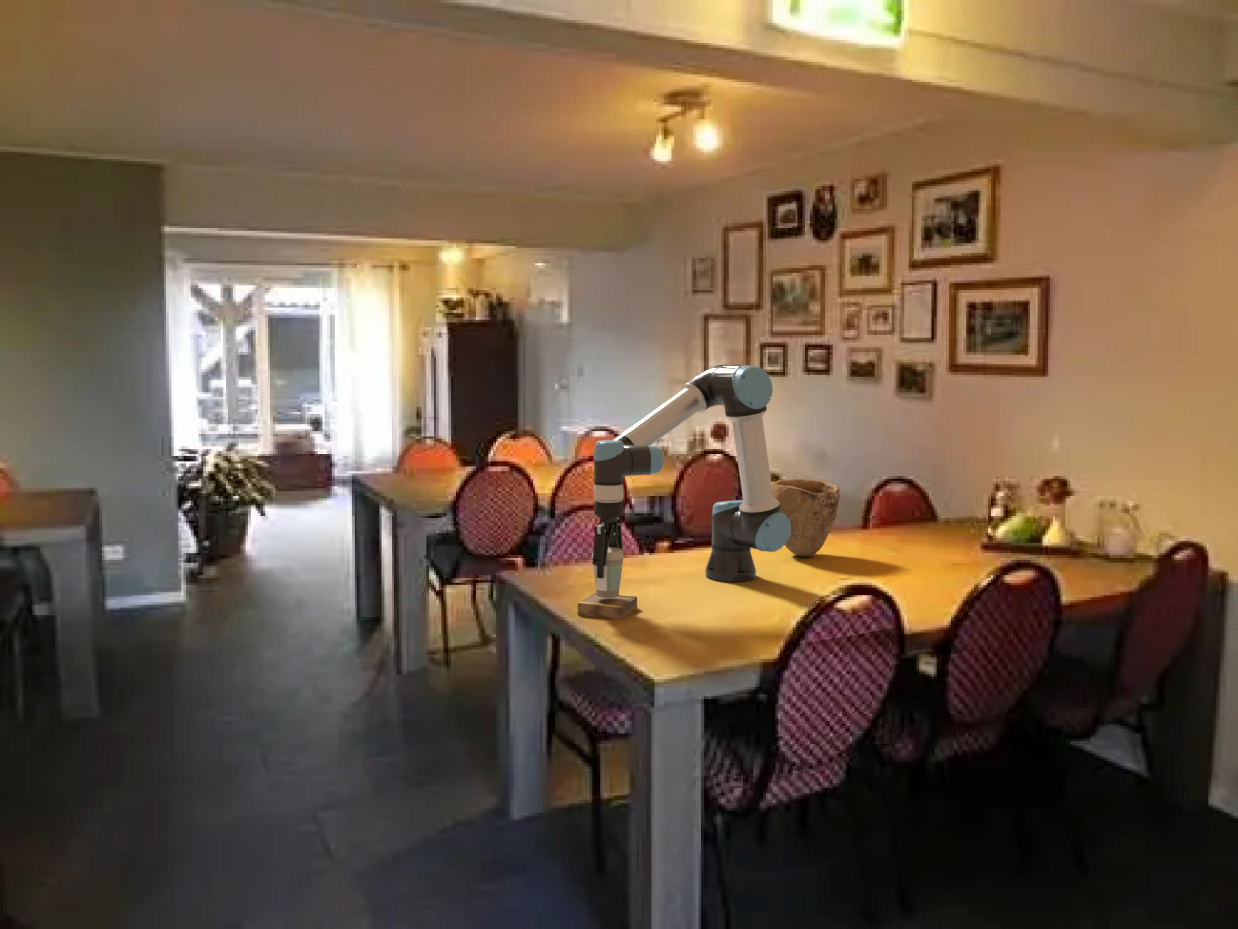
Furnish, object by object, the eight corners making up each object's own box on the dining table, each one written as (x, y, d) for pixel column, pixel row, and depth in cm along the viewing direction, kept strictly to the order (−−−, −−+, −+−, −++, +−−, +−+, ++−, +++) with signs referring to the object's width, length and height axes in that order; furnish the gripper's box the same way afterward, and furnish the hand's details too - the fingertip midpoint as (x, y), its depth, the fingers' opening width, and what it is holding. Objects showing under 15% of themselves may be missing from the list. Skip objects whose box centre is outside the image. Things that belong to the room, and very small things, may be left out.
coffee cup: (590, 591, 266) (590, 546, 264) (622, 590, 267) (622, 546, 265) (592, 599, 257) (592, 553, 256) (625, 598, 258) (625, 552, 257)
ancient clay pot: (805, 567, 317) (808, 488, 314) (754, 555, 334) (755, 480, 331) (851, 558, 331) (853, 482, 328) (799, 547, 348) (801, 475, 345)
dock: (637, 608, 266) (637, 596, 266) (621, 619, 255) (621, 607, 254) (595, 603, 270) (595, 591, 270) (577, 614, 259) (577, 602, 259)
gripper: (609, 493, 270) (609, 576, 273) (579, 505, 250) (578, 594, 253) (635, 495, 268) (635, 578, 270) (607, 507, 248) (606, 597, 250)
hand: (607, 586), depth 262 cm, fingers closed on coffee cup, 8 cm apart
